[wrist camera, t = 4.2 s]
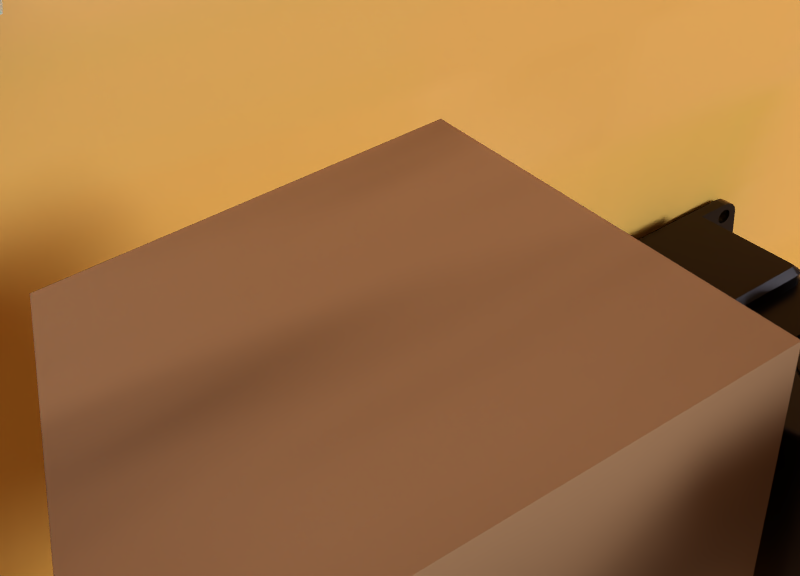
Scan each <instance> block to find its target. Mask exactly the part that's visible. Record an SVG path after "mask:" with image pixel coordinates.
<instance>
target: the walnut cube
mask: <svg viewBox="0 0 800 576" xmlns="http://www.w3.org/2000/svg"><path fill="white" fill-rule="evenodd" d="M30 301H31V313H32V325H33V337H34V349H35V360H36V372H37V384H38V396H39V408H40V420H41V432H42V444H43V455H44V467H45V479H46V491H47V503H48V515H49V527H50V538H51V550H52V562H53V574H54V576H753V574H754V569H755V564H756V559H757V554H758V549H759V545H760V540H761V535H762V530H763V525H764V520H765V516H766V511H767V506H768V501H769V496H770V492H771V487H772V482H773V477H774V472H775V467H776V463H777V458H778V453H779V448H780V443H781V439H782V434H783V429H784V424H785V419H786V414H787V410H788V405H789V400H790V395H791V390H792V385H793V381H794V376H795V371H796V366H797V361H798V357H799V352H800V339H798V338H797V337H795V336H793V335H792V334H790V333H788V332H787V331H785V330H784V329H782V328H780V327H779V326H777V325H775V324H774V323H772V322H771V321H769V320H767V319H766V318H764V317H762V316H761V315H759V314H758V313H756V312H754V311H753V310H751V309H749V308H748V307H746V306H745V305H743V304H741V303H740V302H738V301H736V300H735V299H733V298H731V297H730V296H728V295H727V294H725V293H723V292H722V291H720V290H718V289H717V288H715V287H714V286H712V285H710V284H709V283H707V282H705V281H704V280H702V279H701V278H699V277H697V276H696V275H694V274H692V273H691V272H689V271H688V270H686V269H684V268H683V267H681V266H679V265H678V264H676V263H675V262H673V261H671V260H670V259H668V258H666V257H665V256H663V255H662V254H660V253H658V252H657V251H655V250H653V249H652V248H650V247H649V246H647V245H645V244H644V243H642V242H640V241H639V240H637V239H636V238H634V237H632V236H631V235H629V234H627V233H626V232H624V231H622V230H621V229H619V228H618V227H616V226H614V225H613V224H611V223H609V222H608V221H606V220H605V219H603V218H601V217H600V216H598V215H596V214H595V213H593V212H592V211H590V210H588V209H587V208H585V207H583V206H582V205H580V204H579V203H577V202H575V201H574V200H572V199H570V198H569V197H567V196H566V195H564V194H562V193H561V192H559V191H557V190H556V189H554V188H553V187H551V186H549V185H548V184H546V183H544V182H543V181H541V180H540V179H538V178H536V177H535V176H533V175H531V174H530V173H528V172H527V171H525V170H523V169H522V168H520V167H518V166H517V165H515V164H514V163H512V162H510V161H509V160H507V159H505V158H504V157H502V156H500V155H499V154H497V153H496V152H494V151H492V150H491V149H489V148H487V147H486V146H484V145H483V144H481V143H479V142H478V141H476V140H474V139H473V138H471V137H470V136H468V135H466V134H465V133H463V132H461V131H460V130H458V129H457V128H455V127H453V126H452V125H450V124H448V123H447V122H445V121H444V120H442V119H439V120H437V121H435V122H432V123H430V124H428V125H425V126H423V127H421V128H418V129H416V130H413V131H411V132H409V133H406V134H404V135H402V136H399V137H397V138H395V139H392V140H390V141H388V142H385V143H383V144H381V145H378V146H376V147H373V148H371V149H369V150H366V151H364V152H362V153H359V154H357V155H355V156H352V157H350V158H348V159H345V160H343V161H340V162H338V163H336V164H333V165H331V166H329V167H326V168H324V169H322V170H319V171H317V172H315V173H312V174H310V175H308V176H305V177H303V178H300V179H298V180H296V181H293V182H291V183H289V184H286V185H284V186H282V187H279V188H277V189H275V190H272V191H270V192H268V193H265V194H263V195H260V196H258V197H256V198H253V199H251V200H249V201H246V202H244V203H242V204H239V205H237V206H235V207H232V208H230V209H228V210H225V211H223V212H220V213H218V214H216V215H213V216H211V217H209V218H206V219H204V220H202V221H199V222H197V223H195V224H192V225H190V226H187V227H185V228H183V229H180V230H178V231H176V232H173V233H171V234H169V235H166V236H164V237H162V238H159V239H157V240H155V241H152V242H150V243H147V244H145V245H143V246H140V247H138V248H136V249H133V250H131V251H129V252H126V253H124V254H122V255H119V256H117V257H115V258H112V259H110V260H107V261H105V262H103V263H100V264H98V265H96V266H93V267H91V268H89V269H86V270H84V271H82V272H79V273H77V274H74V275H72V276H70V277H67V278H65V279H63V280H60V281H58V282H56V283H53V284H51V285H49V286H46V287H44V288H42V289H39V290H37V291H34V292H32V293H30Z"/></svg>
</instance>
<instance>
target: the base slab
mask: <svg viewBox="0 0 800 576" xmlns="http://www.w3.org/2000/svg"><path fill="white" fill-rule="evenodd" d="M0 14H3V10H2V0H0Z"/></svg>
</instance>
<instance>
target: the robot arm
mask: <svg viewBox="0 0 800 576" xmlns="http://www.w3.org/2000/svg"><path fill="white" fill-rule="evenodd" d="M734 214H735V207H734V205H733V204H731V203H729V202H727V201H725V200H723V199H718V200H715V201H713V202H711V203H709V204H707V205H706V206H704V207H702V208H700V209H698V210H696V211H694V212H692V213H690V214H688V215H686V216H684V217H682V218H680V219H678V220H676V221H674V222H672V223H670V224H668V225H666V226H664V227H663V228H661V229H659V230H657V231H655V232H653V233H651V234H649V235H647V236H645V237H643V238H641V239H639V241H640V242H642V243H644V244H645V245H647V246H649V247H650V248H652V249H653V250H655V251H657V252H658V253H660V254H662V255H663V256H665V257H666V258H668V259H670V260H671V261H673V262H675V263H676V264H678V265H679V266H681V267H683V268H684V269H686V270H688V271H689V272H691V273H692V274H694V275H696V276H697V277H699V278H701V279H702V280H704V281H705V282H707V283H709V284H710V285H712V286H714V287H715V288H717V289H718V290H720V291H722V292H723V293H725V294H727V295H728V296H730V297H731V298H733V299H735V300H736V301H738V302H740V303H741V304H743V305H745V306H746V307H748V308H749V309H751V310H753V311H754V312H756V313H758V314H759V315H761V316H762V317H764V318H766V319H767V320H769V321H771V322H772V323H774V324H775V325H777V326H779V327H780V328H782V329H784V330H785V331H787V332H788V333H790V334H792V335H793V336H795V337H797V338H798V339H800V269H798V268H797V267H796V266H794V265H793V264H791V263H789V262H787V261H785V260H783V259H782V258H780V257H778V256H776V255H774V254H772V253H770V252H768V251H766V250H764V249H763V248H761V247H759V246H757V245H755V244H753V243H751V242H749V241H747V240H745V239H744V238H742V237H740V236H738V235H736V234H734V233H733V224H734ZM753 576H800V352H799V357H798V361H797V366H796V371H795V376H794V381H793V385H792V390H791V395H790V400H789V405H788V410H787V414H786V419H785V424H784V429H783V434H782V439H781V443H780V448H779V453H778V458H777V463H776V467H775V472H774V477H773V482H772V487H771V492H770V496H769V501H768V506H767V511H766V516H765V520H764V525H763V530H762V535H761V540H760V545H759V549H758V554H757V559H756V564H755V569H754V574H753Z"/></svg>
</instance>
